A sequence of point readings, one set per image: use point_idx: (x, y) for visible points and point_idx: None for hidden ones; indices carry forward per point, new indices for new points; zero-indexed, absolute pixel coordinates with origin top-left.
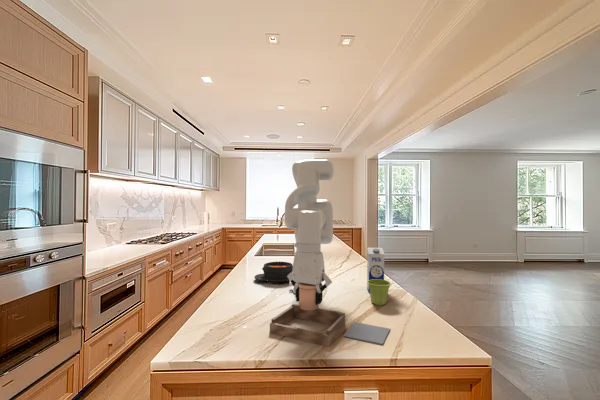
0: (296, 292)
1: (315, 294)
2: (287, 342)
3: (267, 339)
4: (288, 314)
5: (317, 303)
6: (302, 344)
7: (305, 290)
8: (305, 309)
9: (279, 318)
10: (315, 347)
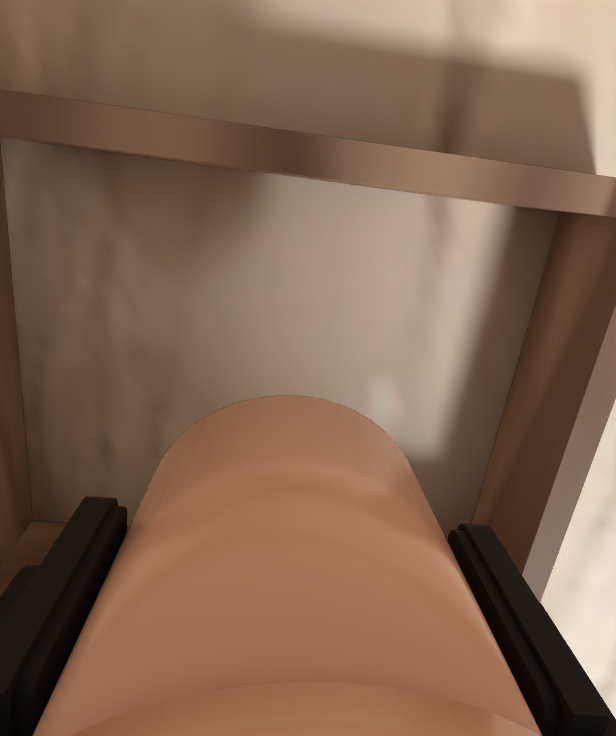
0: (563, 648)
1: (68, 664)
2: (372, 31)
3: (585, 25)
4: (516, 499)
5: (79, 510)
6: (215, 42)
7: (295, 659)
8: (285, 397)
9: (584, 337)
10: (67, 20)
